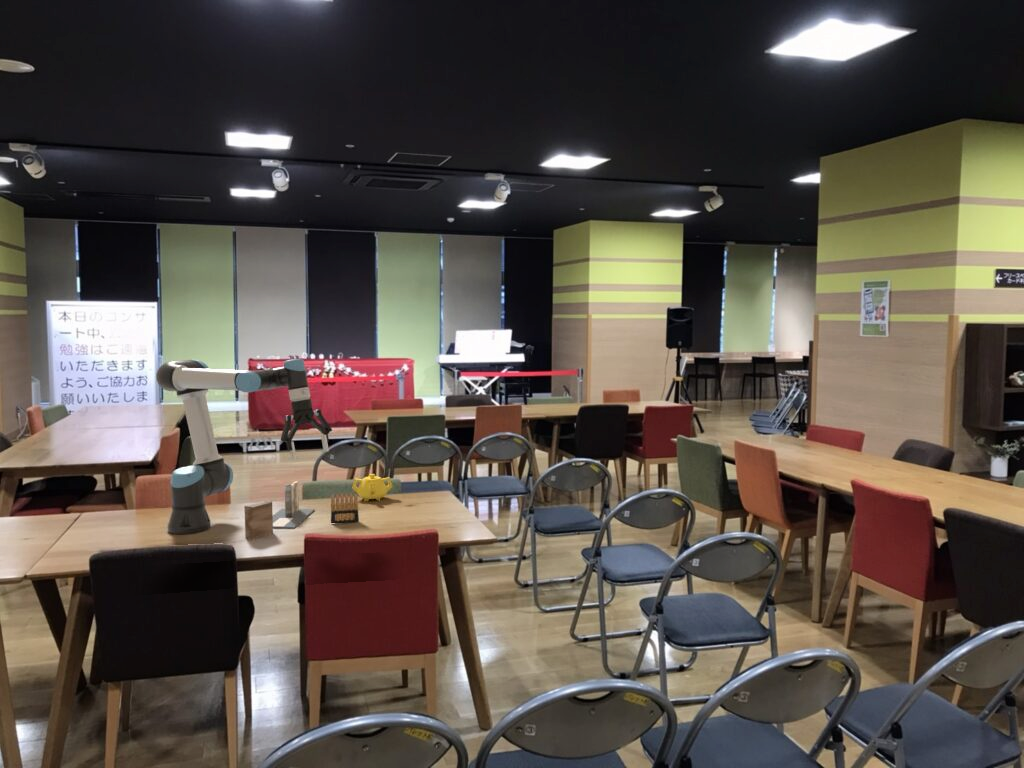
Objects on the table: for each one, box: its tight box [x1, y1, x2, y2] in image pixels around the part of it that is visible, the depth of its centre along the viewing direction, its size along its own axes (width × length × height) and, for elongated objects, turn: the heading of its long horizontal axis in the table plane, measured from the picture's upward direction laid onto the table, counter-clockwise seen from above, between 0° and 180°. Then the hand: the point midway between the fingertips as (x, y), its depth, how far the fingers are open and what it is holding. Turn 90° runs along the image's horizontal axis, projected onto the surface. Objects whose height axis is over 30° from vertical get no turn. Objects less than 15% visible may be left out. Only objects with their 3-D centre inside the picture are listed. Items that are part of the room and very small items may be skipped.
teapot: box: [351, 473, 394, 502], centre depth 339 cm, size 20×18×11 cm
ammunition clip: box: [330, 491, 360, 524], centre depth 300 cm, size 11×2×12 cm, turn 107°
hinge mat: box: [273, 508, 316, 529], centre depth 306 cm, size 28×14×1 cm, turn 178°
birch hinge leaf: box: [284, 480, 300, 517], centre depth 312 cm, size 12×3×13 cm, turn 178°
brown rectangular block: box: [244, 500, 274, 540], centre depth 283 cm, size 4×10×12 cm, turn 148°
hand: (310, 455), depth 289 cm, fingers open, 13 cm apart
